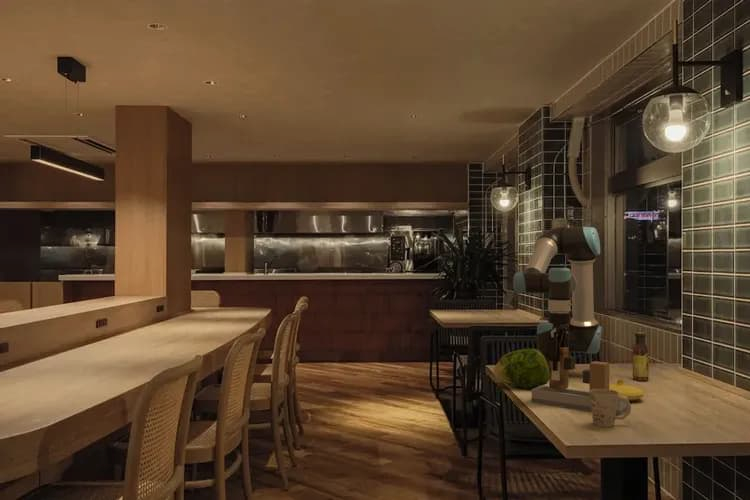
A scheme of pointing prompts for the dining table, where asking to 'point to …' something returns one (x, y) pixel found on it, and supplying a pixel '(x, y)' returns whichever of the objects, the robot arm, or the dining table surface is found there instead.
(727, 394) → the dining table surface
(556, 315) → the robot arm
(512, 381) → the lettuce
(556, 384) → the brown tall block
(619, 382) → the yellow curved piece
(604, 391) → the mug
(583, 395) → the brown blocky pieces
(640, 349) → the sauce bottle
